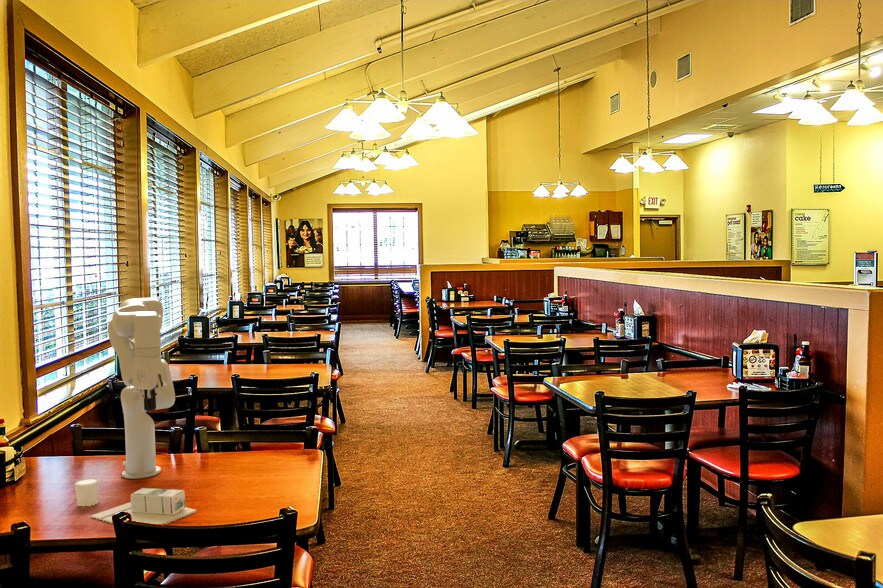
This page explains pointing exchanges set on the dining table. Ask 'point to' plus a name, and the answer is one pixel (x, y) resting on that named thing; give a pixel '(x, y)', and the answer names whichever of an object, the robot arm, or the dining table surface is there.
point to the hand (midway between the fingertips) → (150, 409)
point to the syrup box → (157, 501)
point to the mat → (143, 515)
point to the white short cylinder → (87, 492)
